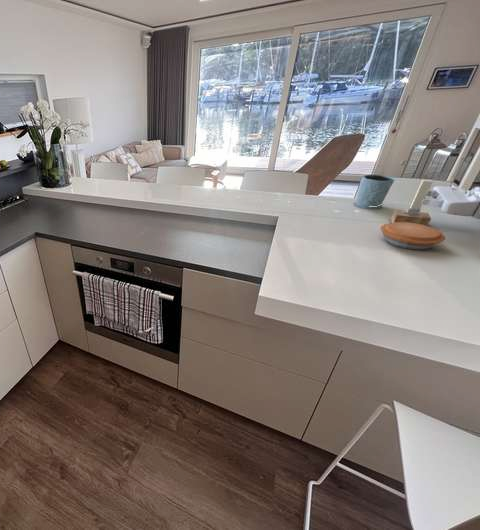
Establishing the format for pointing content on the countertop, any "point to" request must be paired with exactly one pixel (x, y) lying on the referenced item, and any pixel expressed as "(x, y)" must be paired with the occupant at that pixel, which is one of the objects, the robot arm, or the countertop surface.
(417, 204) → the knife
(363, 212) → the countertop surface
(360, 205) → the blue gray cup
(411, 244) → the pie
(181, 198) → the countertop surface
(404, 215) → the knife stand
